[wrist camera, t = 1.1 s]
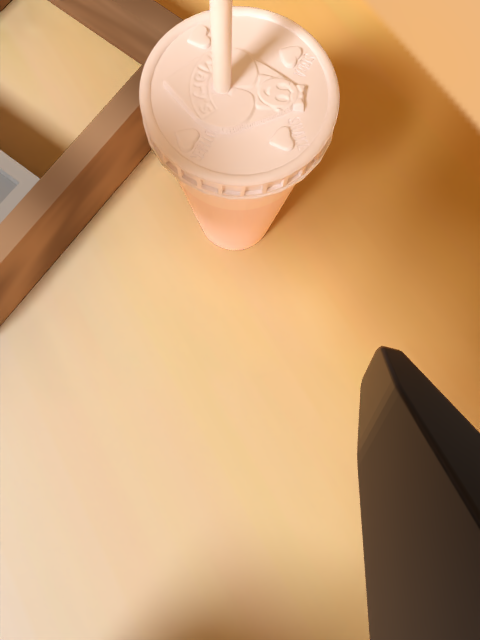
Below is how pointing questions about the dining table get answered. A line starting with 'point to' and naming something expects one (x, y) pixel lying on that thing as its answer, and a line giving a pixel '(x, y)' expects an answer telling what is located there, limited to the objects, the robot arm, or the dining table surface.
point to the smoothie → (238, 114)
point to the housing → (83, 153)
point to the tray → (13, 184)
